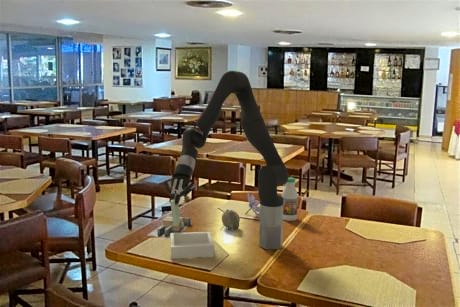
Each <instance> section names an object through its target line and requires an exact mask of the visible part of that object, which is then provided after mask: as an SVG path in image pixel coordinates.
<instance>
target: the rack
mask: <svg viewBox="0 0 460 307" xmlns="http://www.w3.org/2000/svg"><path fill="white" fill-rule="evenodd" d="M166 217H172V215H165V218H166ZM180 218H182V222H184V227H182V228H181V229H180V230H179V231H177V230H172V226H169V227H168V228H166V229H165V225H163V226H161V225H159V226H158V227H157V228H155V229H153V230H152V231H151V232H149V233H148V234H147V235H146V236H149V237H156V238H158V237H159V238H165V239H170V233H183V231H184V232H185V230H186V229H187V228H189V227H190V226H191V225H192V218H191V217H186V216H180Z"/></svg>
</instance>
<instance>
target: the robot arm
mask: <svg viewBox="0 0 460 307" xmlns="http://www.w3.org/2000/svg"><path fill="white" fill-rule="evenodd" d="M231 94H234V95H235V97H236V99H237V100H238V103H239V105H240V125H241V128H242V130H243V133H244V134H245V137H246V139H247V141H248V142H249V144H251V146H252V147H253V148H254V149H255V150H257V152H258V153H259V154H260V155H261V156H262V158H263V160H264V162H265V165H263V166H261V168H260V169H259V171H258V176H257V187H258V188H257V191H258V192H257V193H258V198H259V201H260V203H259V207H260V213H259V215H260V218H259V231H258V233H259V236H258V237H259V239H258V240H259V241H258V243H259V244H258V246H259V247H261V248H262V249H265V250H280V249H281V248H282V247H283V227H284V226H283V224H284V220H283V201H284V200H283V197H282V195H279V194H278V187H282V186H285V185H286V183H287V181H288V177H289V171H288V169H287V167H286V165H285V163H284V160H283V159H282V158H281V156H280V154H279V152H278V150H277V148H276V146H275V143H274V140H273V139H272V137H271V135H270V132H269V129H268V127H267V124H266V122H265V120H264V118H263V114H262V113H261V111H260V108H259V106H258V103H257V101H256V98H255V96H254V92H253V89H252V85H251V82H250V79H249V77H248V76H247V75H246V73H244V72H242V71H238V70H227V71H225V72H224V73H223V75H222V76H221V78H220V79H219V81H218V83H217V86H216V88H215V90H214V92H213V94H212V96H211V98H210V100H209V102H208V104H207V105H206V107H205V108H204V109H203V111H202V113H201V114H200V115H199V117H198V119H197V120H196V123H195V124H196V126H197V128H198V129H199V130H200V131H199V130H197V129H195V128H194V127H191V126H190V127H187V128H185V130H184V131H183V133H182V138H181V139H182V140H181V141H182V143H181V144H182V147H181V152H180V156H179V158H178V160H177V163H176V165H175V168H174V172H173V175H172V177H171V179H170V180H169V181H164V182H163V183H164V185H165V188H166V191H167V194H168V195H169V199H168V201H169V203H170V205H171V200H173V199H174V197H175V205H177V204H179V203H180V201H181V198H182V197H187V196H188V195H189V194H190V193H191V192H192V191H193V190H194V189H195V184H194V183H193V182H192V181H191V179H192V177H193V174H194V170H195V166H196V161H197V158H198V155H199V151H198V149H202V148H203V147H204V146H205V145H206V142H207V139H208V136H209V134H210V132H211V130H212V128H213V127H214V126H215V124H216V123H217V121H218V120H219V118H220V115H221V113H222V112H221V111H222V107H223V105H224V103H225V101H226V100H227V99H228V98H229V96H230V95H231ZM201 131H202V132H201ZM171 186H172V187H171Z"/></svg>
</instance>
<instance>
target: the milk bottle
mask: <svg viewBox="0 0 460 307" xmlns="http://www.w3.org/2000/svg"><path fill="white" fill-rule="evenodd" d="M295 183H296V178H295V177H291V176H290V177H289V176H288V181H287V183H286V184H285V185H284V188H283V190H282V192H281V196H282V197H283V200H284V201H283V221H287V222H293V221H297V218H298V207H299V206H298V201H299V197H298V196H299V195H298V191H297V189H296V185H295Z"/></svg>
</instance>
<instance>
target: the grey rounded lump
mask: <svg viewBox="0 0 460 307" xmlns="http://www.w3.org/2000/svg"><path fill="white" fill-rule="evenodd" d="M240 220H241V219H240V215H239V213H238V212H237V211H235V210H234V209H226V210H225V211H224V212H223V213H222V214H221V222H222V225H223V227H225V229H227V230H228V231H236V230H239V229H240Z"/></svg>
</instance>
